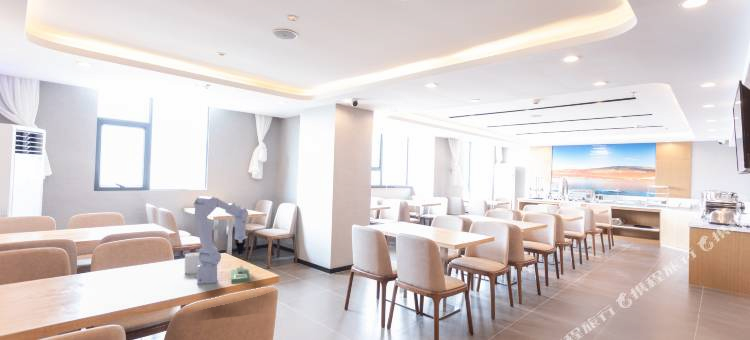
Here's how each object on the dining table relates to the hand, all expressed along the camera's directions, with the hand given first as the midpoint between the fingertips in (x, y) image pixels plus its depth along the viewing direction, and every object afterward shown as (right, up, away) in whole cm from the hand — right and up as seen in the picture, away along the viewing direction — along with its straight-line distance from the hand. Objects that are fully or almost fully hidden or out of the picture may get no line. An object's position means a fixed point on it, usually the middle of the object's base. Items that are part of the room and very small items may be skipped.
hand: (239, 252), depth 212 cm
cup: (-26, -10, -3) cm, 28 cm away
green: (+4, -11, -12) cm, 16 cm away
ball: (+3, -7, -9) cm, 12 cm away
